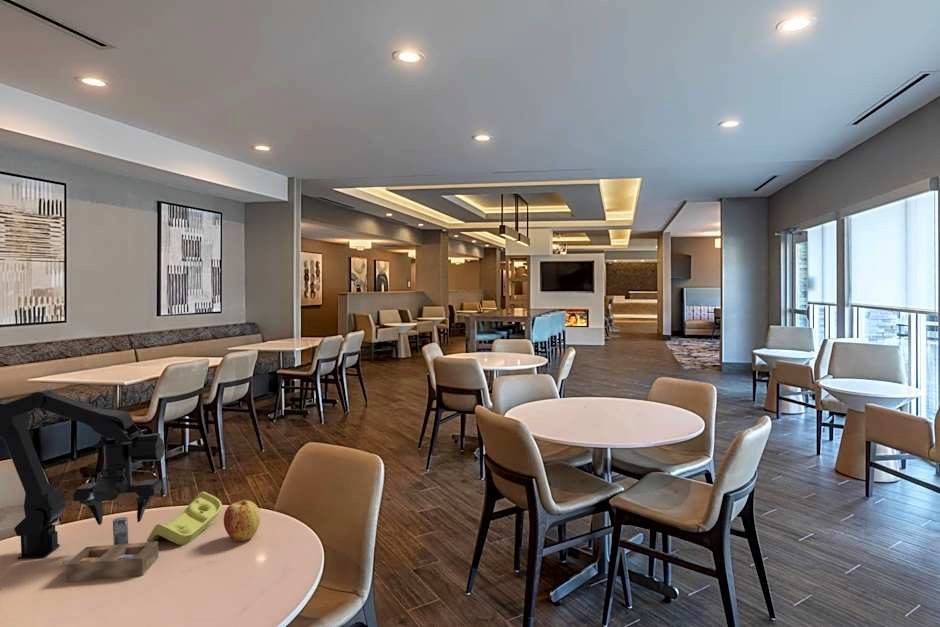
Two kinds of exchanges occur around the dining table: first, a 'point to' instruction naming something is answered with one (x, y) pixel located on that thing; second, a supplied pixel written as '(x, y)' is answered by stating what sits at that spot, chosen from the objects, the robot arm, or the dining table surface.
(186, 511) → the plastic component
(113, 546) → the board
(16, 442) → the robot arm
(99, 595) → the dining table surface
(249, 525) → the apple
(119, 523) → the plug
